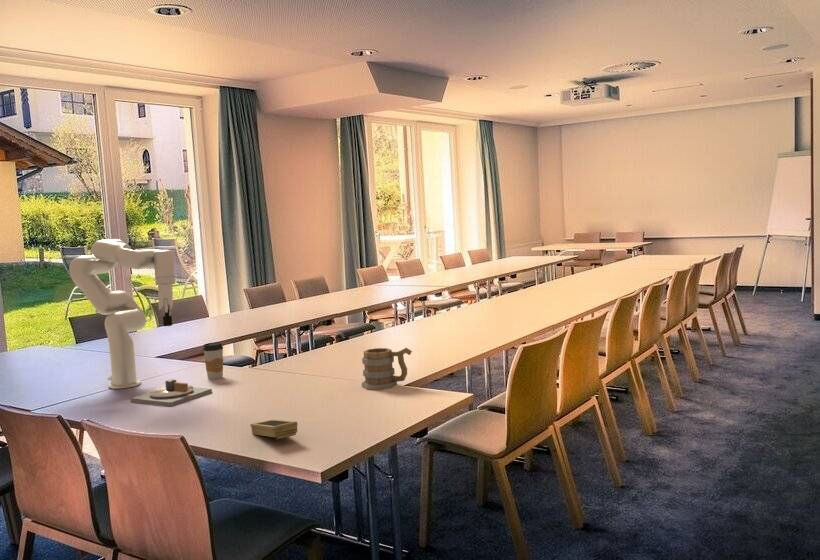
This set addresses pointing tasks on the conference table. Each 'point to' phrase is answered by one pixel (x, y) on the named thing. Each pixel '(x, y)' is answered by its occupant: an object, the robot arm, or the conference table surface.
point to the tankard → (382, 368)
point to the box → (275, 428)
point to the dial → (171, 390)
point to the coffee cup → (214, 360)
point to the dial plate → (171, 398)
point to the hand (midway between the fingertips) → (167, 325)
